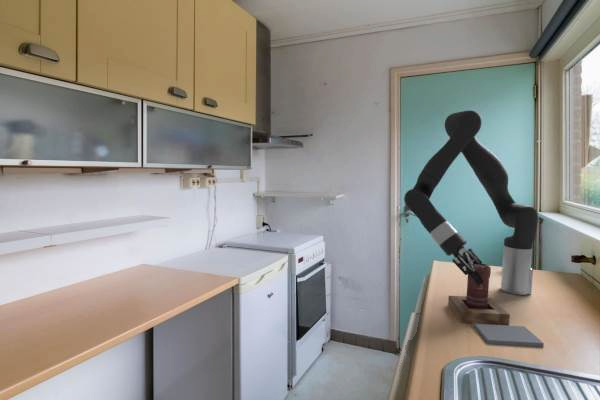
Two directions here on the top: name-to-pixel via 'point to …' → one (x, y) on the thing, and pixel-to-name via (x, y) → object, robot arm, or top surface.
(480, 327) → the mat
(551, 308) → the top surface
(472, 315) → the box
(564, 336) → the top surface
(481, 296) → the can
